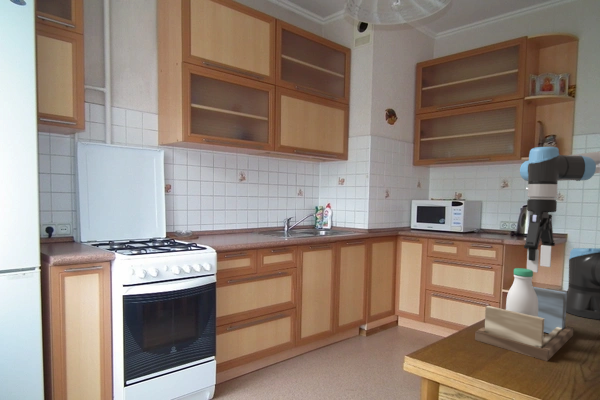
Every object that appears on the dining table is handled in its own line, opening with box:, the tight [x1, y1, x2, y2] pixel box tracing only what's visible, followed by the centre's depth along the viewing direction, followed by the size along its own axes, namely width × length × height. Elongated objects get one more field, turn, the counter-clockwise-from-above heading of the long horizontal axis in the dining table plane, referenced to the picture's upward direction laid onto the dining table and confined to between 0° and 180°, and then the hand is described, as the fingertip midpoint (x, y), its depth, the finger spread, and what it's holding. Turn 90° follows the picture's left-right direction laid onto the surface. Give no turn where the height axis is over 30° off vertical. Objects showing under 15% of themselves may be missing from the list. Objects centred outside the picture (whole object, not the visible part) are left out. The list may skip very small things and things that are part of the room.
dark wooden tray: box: [474, 325, 574, 362], centre depth 108 cm, size 27×17×2 cm, turn 133°
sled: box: [484, 286, 567, 348], centre depth 108 cm, size 24×14×12 cm, turn 133°
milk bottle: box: [505, 267, 538, 317], centre depth 105 cm, size 8×8×20 cm
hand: (539, 268), depth 115 cm, fingers open, 13 cm apart
